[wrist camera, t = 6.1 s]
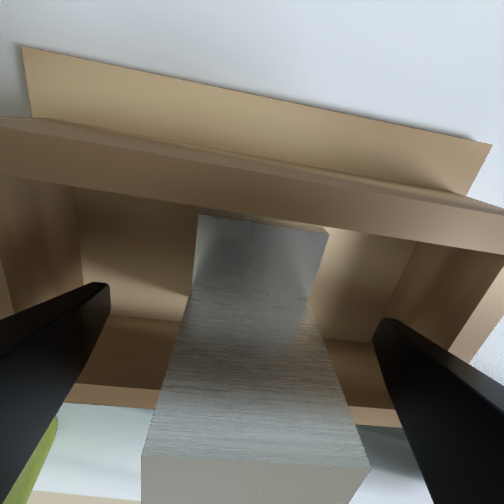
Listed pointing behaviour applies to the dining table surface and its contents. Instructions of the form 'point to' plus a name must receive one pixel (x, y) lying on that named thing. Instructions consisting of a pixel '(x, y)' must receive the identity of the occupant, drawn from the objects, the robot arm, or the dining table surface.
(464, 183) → the light wood shallow box
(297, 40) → the dining table surface
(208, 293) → the bracket
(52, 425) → the plant pot
